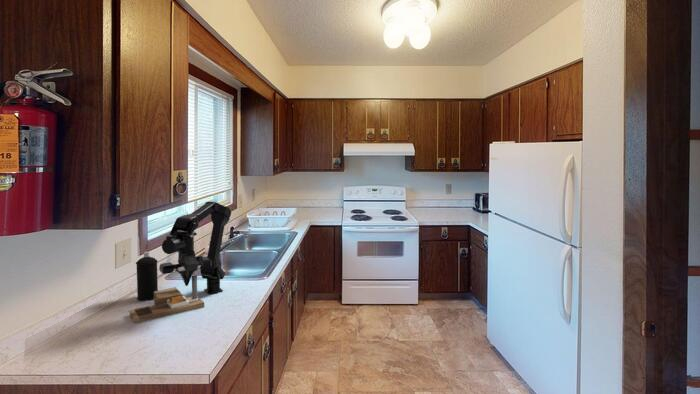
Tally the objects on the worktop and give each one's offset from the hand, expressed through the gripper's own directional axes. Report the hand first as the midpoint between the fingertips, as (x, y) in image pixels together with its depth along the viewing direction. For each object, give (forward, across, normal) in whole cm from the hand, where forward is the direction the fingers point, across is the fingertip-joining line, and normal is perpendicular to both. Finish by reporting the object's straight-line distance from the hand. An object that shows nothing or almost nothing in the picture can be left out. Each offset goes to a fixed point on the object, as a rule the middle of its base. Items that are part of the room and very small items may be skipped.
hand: (186, 285), depth 147 cm
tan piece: (+9, -7, 0) cm, 11 cm away
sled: (+7, -1, 0) cm, 7 cm away
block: (+7, -4, 0) cm, 8 cm away
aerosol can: (+9, -10, +20) cm, 24 cm away
